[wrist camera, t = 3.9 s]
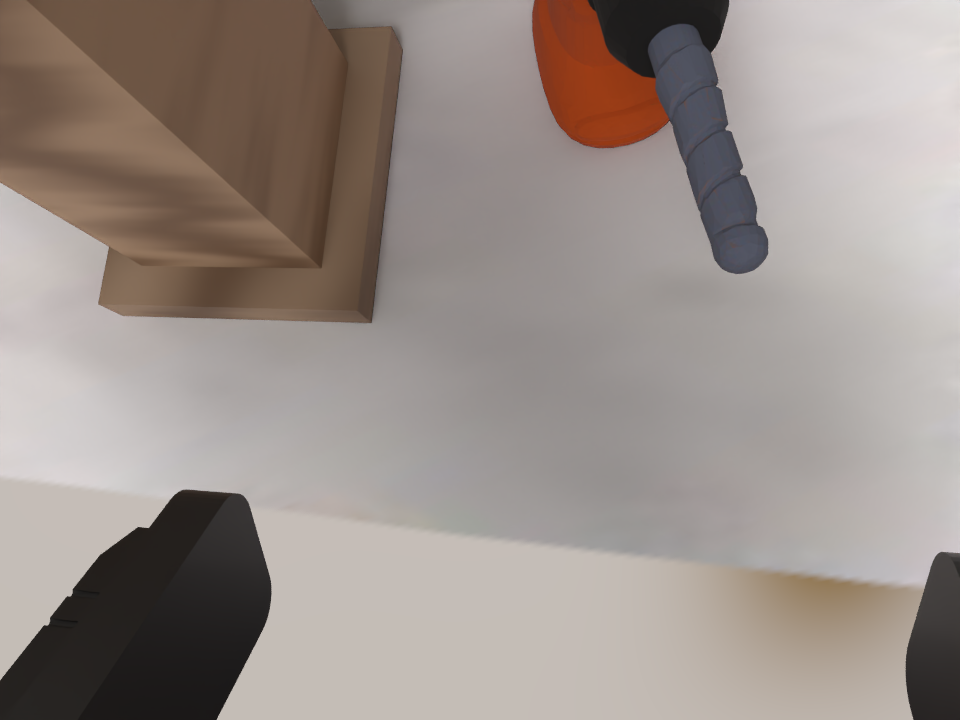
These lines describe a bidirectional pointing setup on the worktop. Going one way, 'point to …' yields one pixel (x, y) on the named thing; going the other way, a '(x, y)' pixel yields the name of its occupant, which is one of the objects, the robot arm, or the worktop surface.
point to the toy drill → (652, 99)
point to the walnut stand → (206, 149)
